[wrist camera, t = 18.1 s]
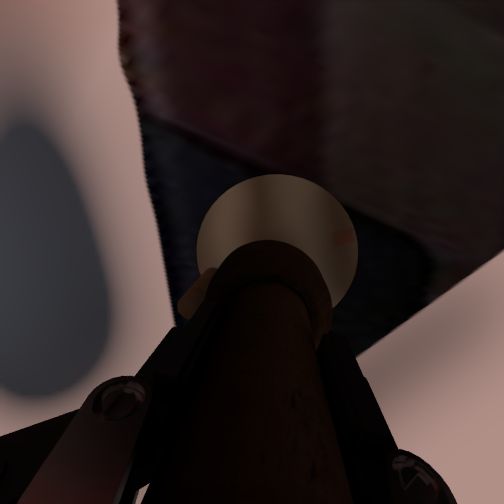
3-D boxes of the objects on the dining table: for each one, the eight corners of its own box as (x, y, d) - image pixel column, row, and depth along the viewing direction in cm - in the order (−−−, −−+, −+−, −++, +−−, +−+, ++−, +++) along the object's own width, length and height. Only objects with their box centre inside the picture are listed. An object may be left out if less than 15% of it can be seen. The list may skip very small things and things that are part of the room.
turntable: (329, 149, 20) (356, 130, 13) (369, 300, 23) (409, 352, 16) (179, 206, 23) (132, 215, 16) (231, 334, 26) (212, 392, 18)
